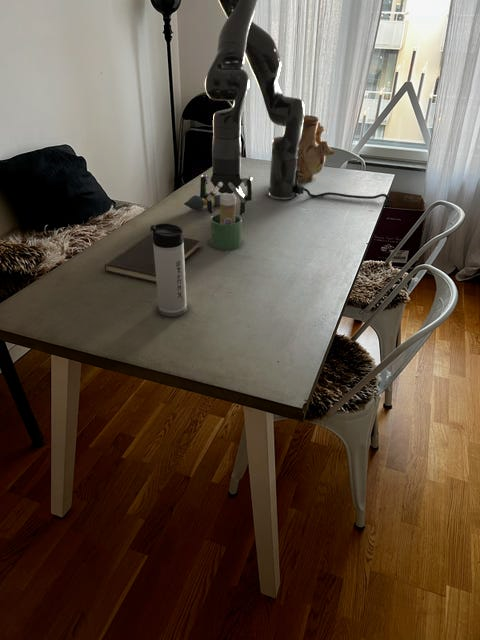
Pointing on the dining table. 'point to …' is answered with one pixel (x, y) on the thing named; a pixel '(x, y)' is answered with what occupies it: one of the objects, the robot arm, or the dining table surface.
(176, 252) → the travel mug
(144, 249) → the hardcover book
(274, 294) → the dining table surface
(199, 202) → the paintbrush
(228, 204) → the sprinkles bottle
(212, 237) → the cup
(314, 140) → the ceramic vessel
